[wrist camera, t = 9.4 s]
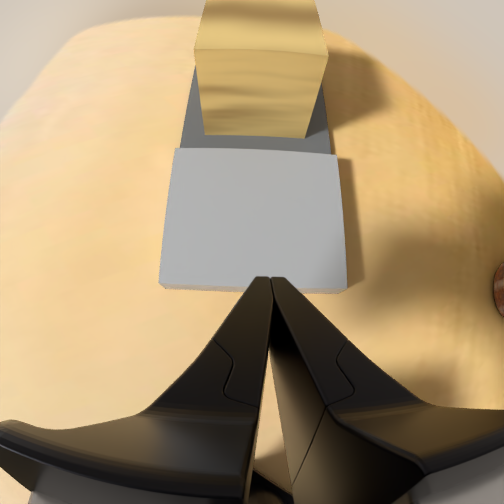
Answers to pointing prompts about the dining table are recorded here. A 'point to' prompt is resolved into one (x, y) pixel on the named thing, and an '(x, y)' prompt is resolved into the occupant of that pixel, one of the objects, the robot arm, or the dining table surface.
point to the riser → (253, 220)
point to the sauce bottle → (499, 289)
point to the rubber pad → (196, 137)
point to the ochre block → (259, 66)
